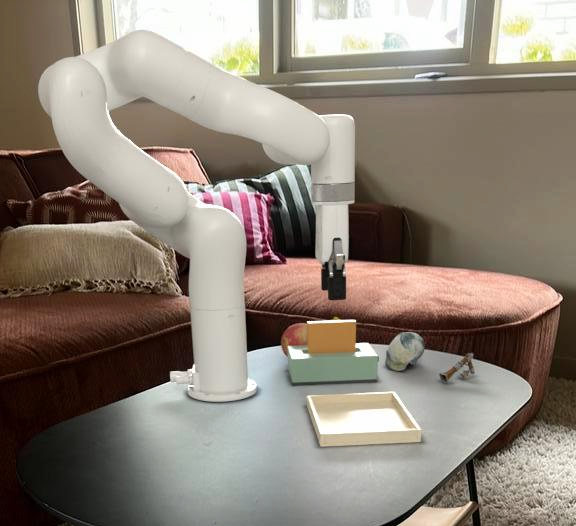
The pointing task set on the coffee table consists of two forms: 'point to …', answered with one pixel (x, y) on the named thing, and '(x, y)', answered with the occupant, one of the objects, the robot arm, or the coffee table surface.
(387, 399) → the tray
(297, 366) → the toaster
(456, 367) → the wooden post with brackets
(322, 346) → the toast
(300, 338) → the fruit
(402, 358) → the seashell
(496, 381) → the coffee table surface
